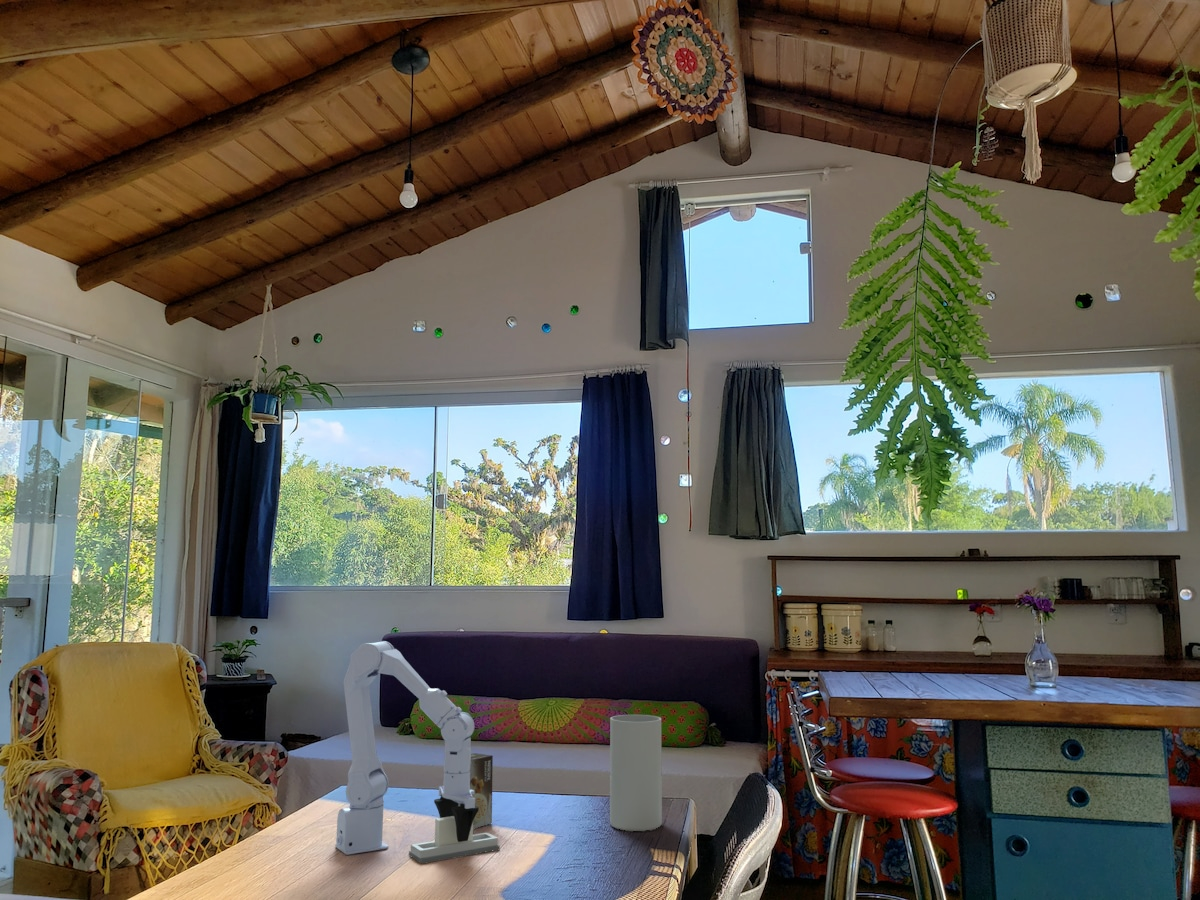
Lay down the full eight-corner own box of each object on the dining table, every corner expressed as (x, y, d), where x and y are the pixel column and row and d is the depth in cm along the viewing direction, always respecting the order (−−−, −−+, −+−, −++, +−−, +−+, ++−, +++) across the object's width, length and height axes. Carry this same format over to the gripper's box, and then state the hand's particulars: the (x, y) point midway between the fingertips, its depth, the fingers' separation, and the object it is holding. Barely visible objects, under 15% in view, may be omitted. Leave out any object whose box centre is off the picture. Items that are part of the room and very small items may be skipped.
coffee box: (473, 820, 219) (475, 752, 222) (492, 824, 215) (494, 755, 218) (446, 827, 212) (448, 757, 214) (465, 832, 208) (466, 760, 210)
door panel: (438, 852, 189) (439, 820, 190) (434, 850, 191) (435, 818, 192) (472, 847, 193) (473, 815, 194) (468, 844, 195) (469, 813, 196)
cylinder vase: (663, 832, 208) (662, 722, 212) (609, 832, 209) (610, 721, 213) (660, 819, 221) (660, 714, 225) (610, 818, 221) (610, 714, 225)
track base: (421, 863, 184) (422, 851, 185) (409, 855, 190) (409, 843, 190) (499, 849, 194) (499, 838, 195) (485, 842, 200) (485, 831, 200)
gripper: (488, 774, 191) (486, 841, 189) (459, 763, 203) (458, 826, 201) (458, 778, 187) (456, 847, 185) (430, 767, 199) (428, 831, 197)
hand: (455, 836), depth 193 cm, fingers open, 7 cm apart
